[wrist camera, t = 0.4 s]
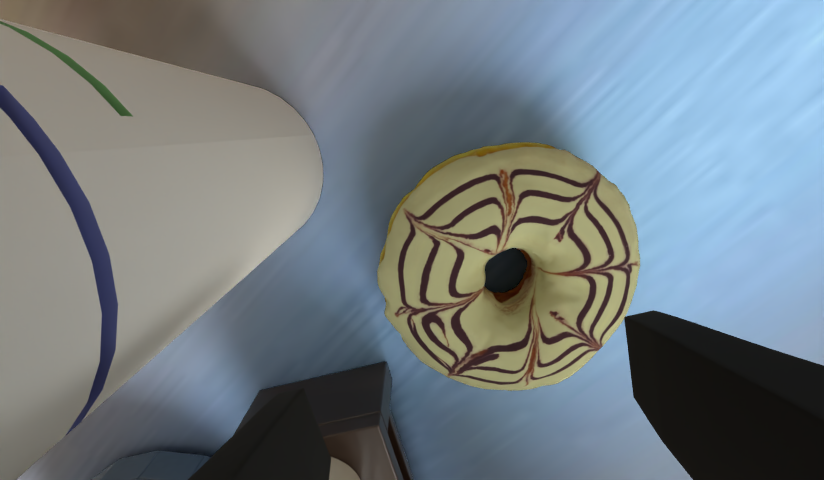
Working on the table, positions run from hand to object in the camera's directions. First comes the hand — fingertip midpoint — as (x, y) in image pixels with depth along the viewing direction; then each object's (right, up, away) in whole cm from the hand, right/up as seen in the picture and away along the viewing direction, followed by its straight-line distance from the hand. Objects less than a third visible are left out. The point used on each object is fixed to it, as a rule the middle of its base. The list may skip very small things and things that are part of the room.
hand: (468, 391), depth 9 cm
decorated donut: (+3, +2, +10) cm, 11 cm away
